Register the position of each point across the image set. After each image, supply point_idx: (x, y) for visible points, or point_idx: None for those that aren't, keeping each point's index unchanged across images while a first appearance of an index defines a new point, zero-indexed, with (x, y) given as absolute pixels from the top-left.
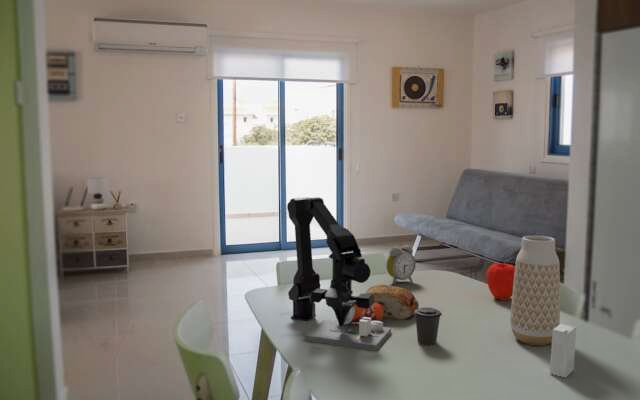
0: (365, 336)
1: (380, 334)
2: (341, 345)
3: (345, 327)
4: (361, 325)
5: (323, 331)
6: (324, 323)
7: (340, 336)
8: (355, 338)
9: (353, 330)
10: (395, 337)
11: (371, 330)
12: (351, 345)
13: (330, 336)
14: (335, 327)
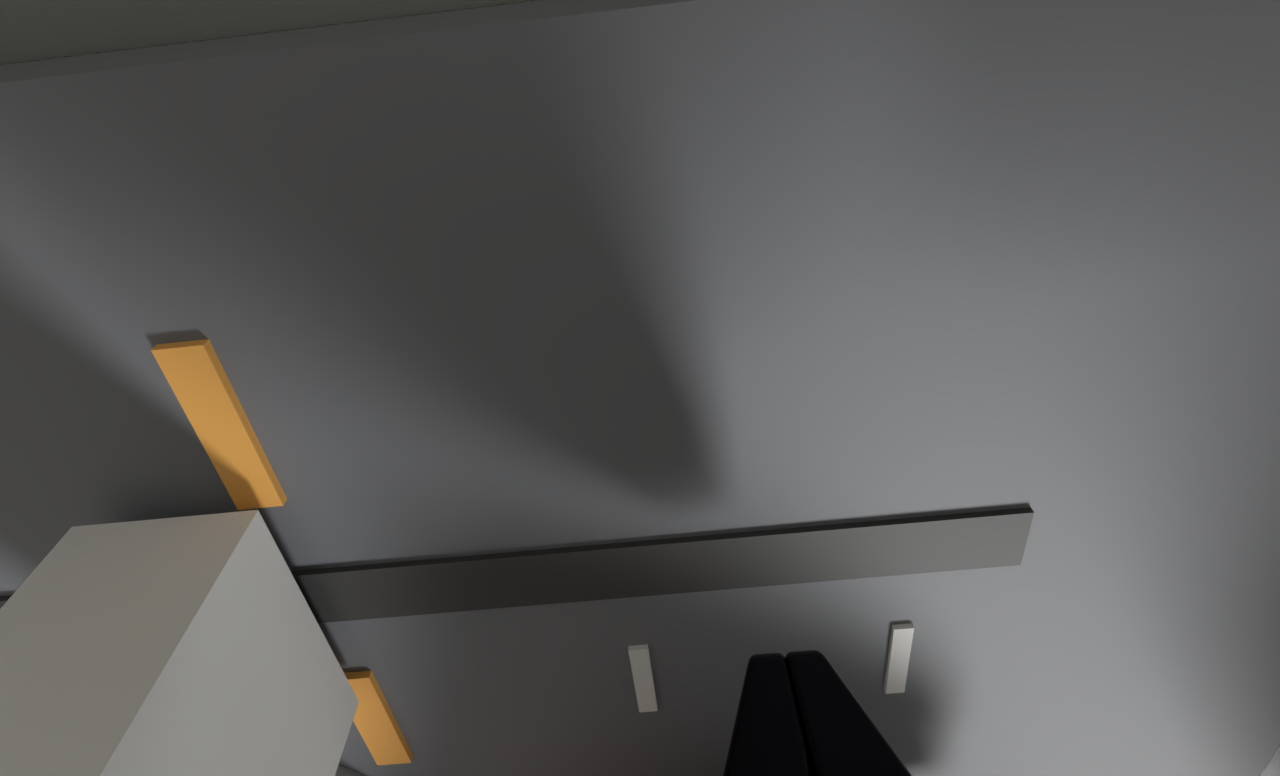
0: None
1: None
2: (489, 10)
3: None
4: (40, 754)
5: (1176, 419)
6: (1201, 731)
7: (653, 314)
8: (253, 363)
9: (578, 682)
10: None
11: None
12: (190, 49)
13: (913, 191)
14: (955, 673)
